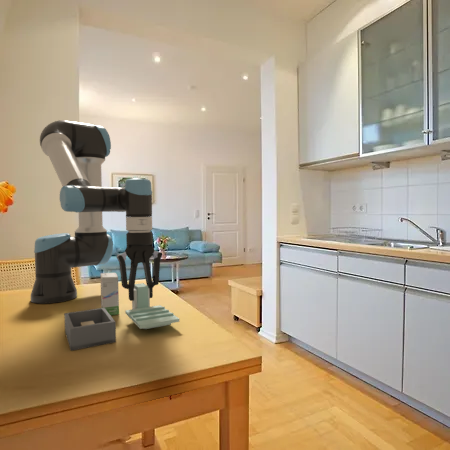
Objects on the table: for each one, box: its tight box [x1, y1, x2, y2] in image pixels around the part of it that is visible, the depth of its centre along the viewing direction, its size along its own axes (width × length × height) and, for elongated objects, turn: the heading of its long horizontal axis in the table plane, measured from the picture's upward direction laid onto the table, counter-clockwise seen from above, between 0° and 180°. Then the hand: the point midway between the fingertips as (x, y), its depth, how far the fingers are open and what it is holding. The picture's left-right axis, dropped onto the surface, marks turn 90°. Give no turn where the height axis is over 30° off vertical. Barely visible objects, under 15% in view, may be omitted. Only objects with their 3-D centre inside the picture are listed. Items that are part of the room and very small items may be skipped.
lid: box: [124, 282, 180, 330], centre depth 97 cm, size 10×20×8 cm, turn 30°
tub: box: [64, 307, 117, 351], centre depth 87 cm, size 10×14×5 cm
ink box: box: [100, 272, 120, 316], centre depth 109 cm, size 8×5×12 cm, turn 23°
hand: (141, 309), depth 104 cm, fingers open, 3 cm apart
